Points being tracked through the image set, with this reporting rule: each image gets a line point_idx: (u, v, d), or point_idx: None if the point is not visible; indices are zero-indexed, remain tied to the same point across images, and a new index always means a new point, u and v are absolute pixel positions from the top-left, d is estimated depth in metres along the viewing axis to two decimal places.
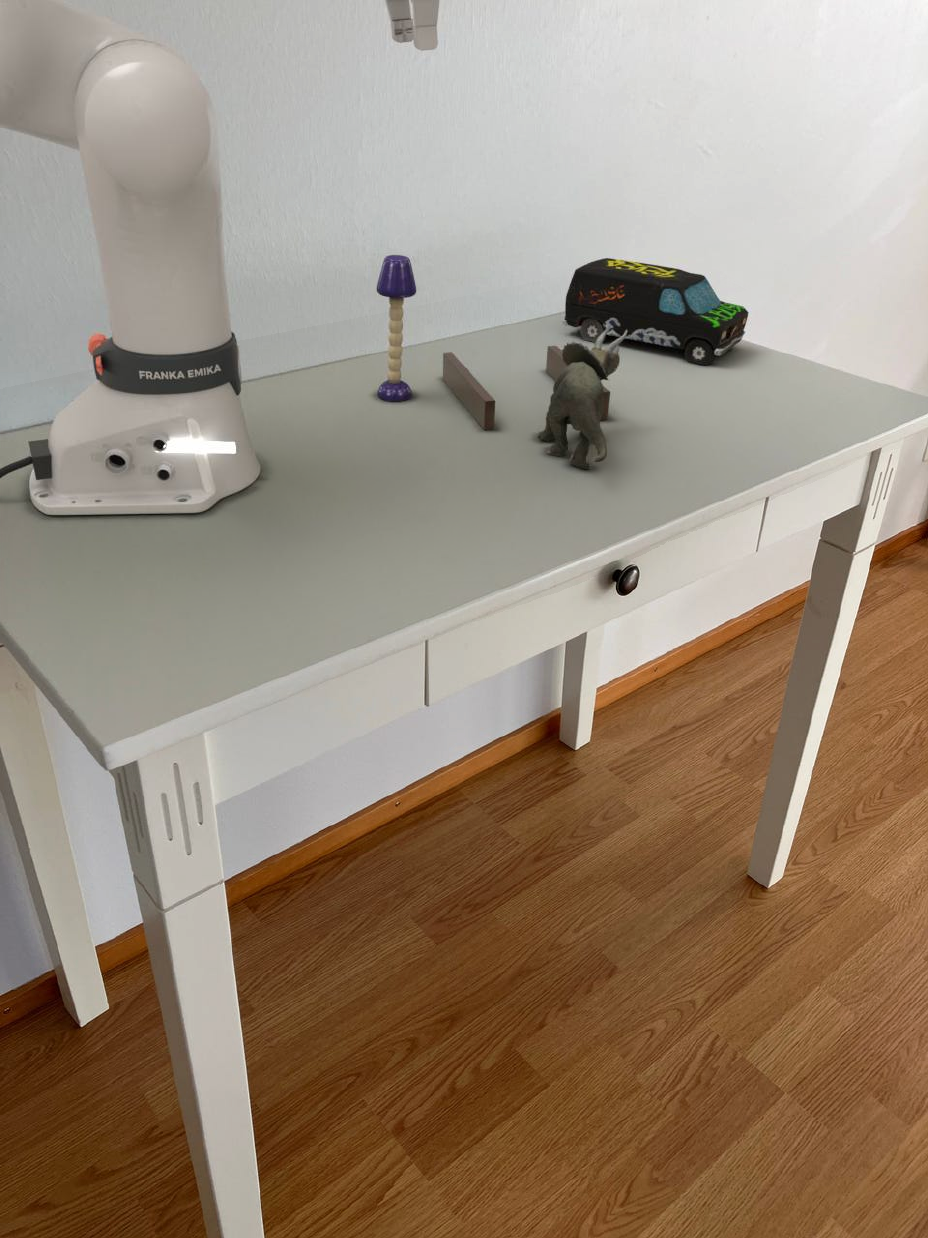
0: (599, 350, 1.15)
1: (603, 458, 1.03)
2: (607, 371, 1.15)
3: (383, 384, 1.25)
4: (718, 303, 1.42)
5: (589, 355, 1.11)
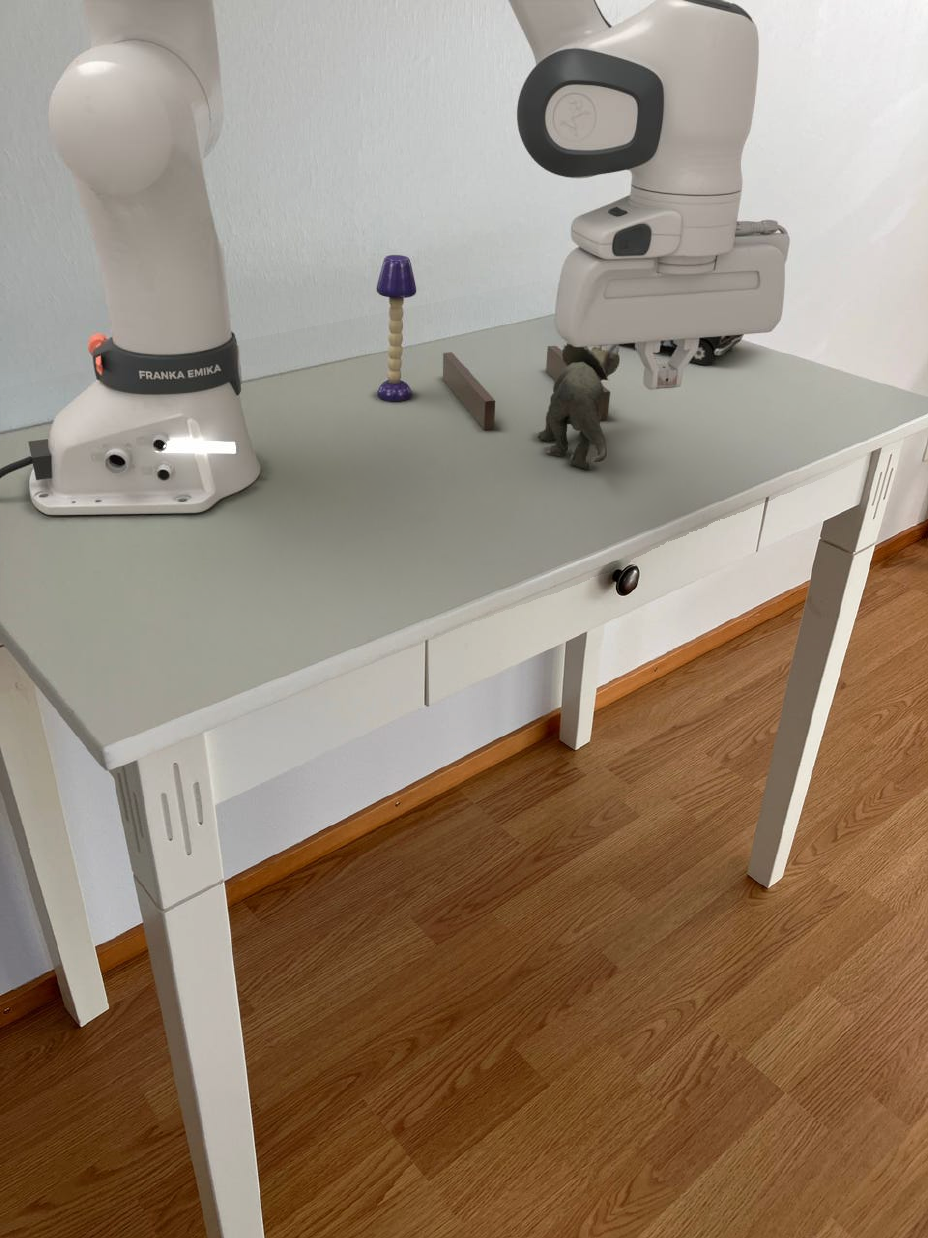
0: (599, 350, 1.15)
1: (603, 458, 1.03)
2: (607, 371, 1.15)
3: (383, 384, 1.25)
4: None
5: (589, 355, 1.11)
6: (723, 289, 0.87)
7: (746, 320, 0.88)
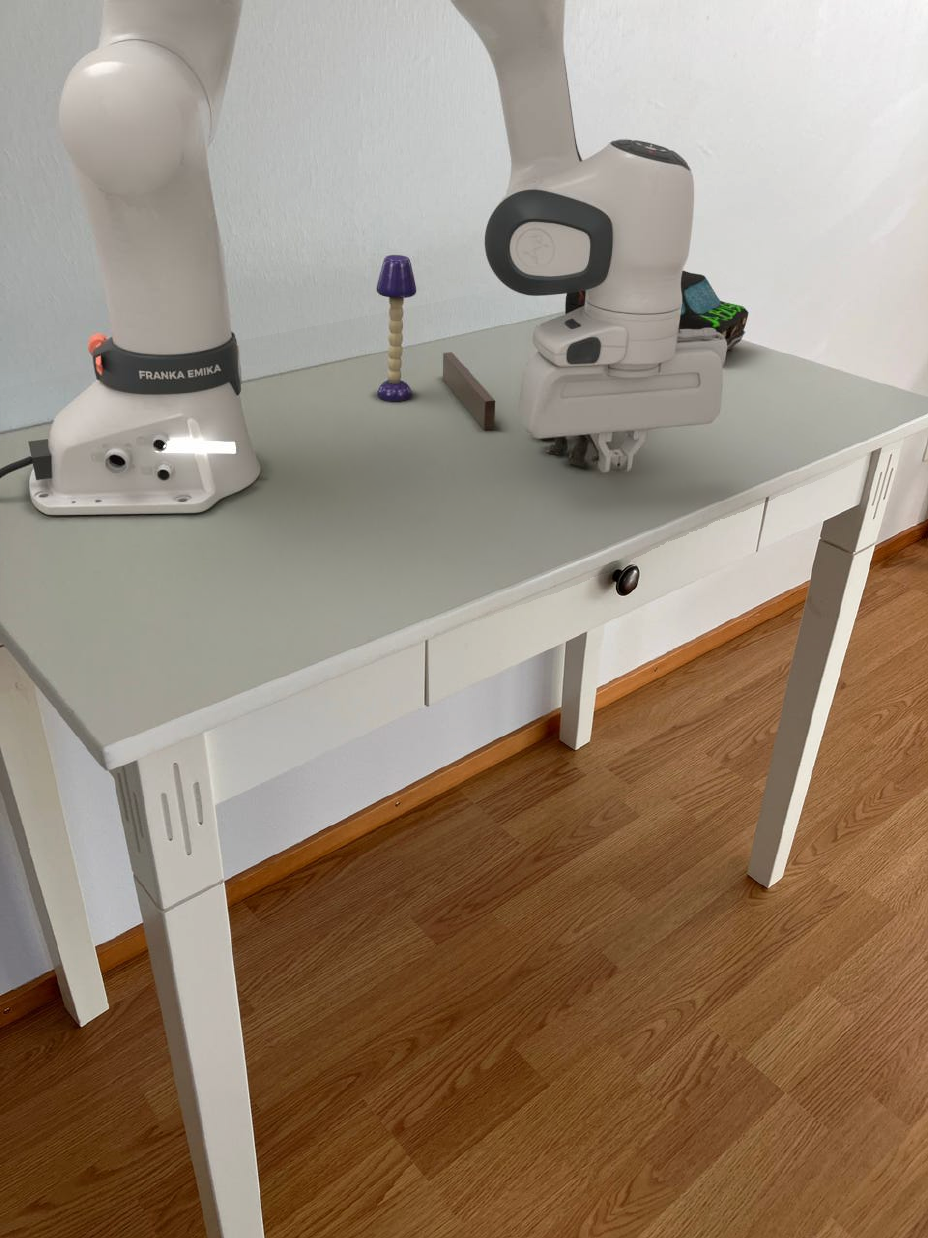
0: None
1: None
2: None
3: (383, 384, 1.25)
4: (718, 303, 1.42)
5: None
6: (668, 388, 0.98)
7: (688, 414, 1.00)
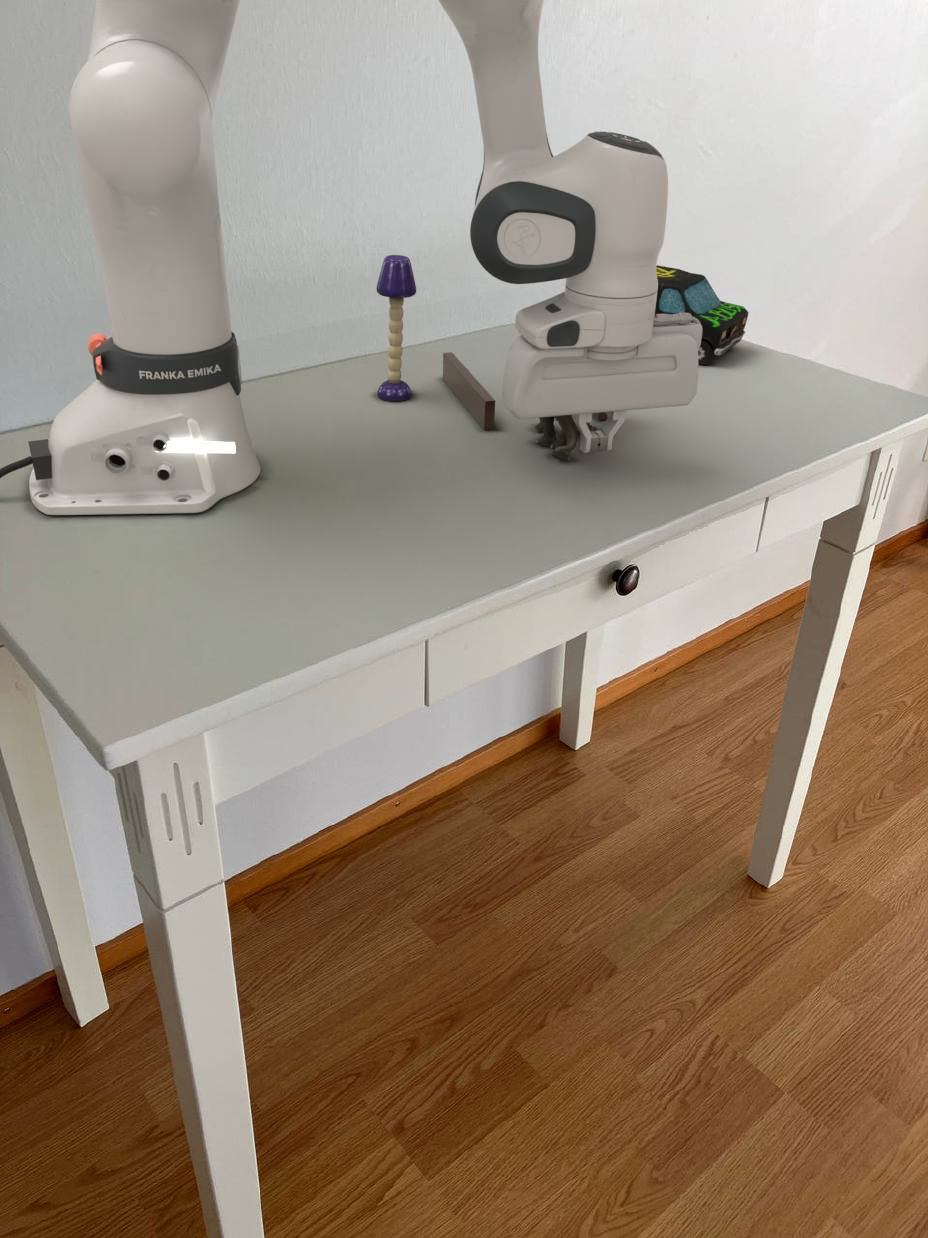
0: None
1: (568, 449, 1.05)
2: None
3: (383, 384, 1.25)
4: (718, 303, 1.42)
5: None
6: (645, 370, 1.02)
7: (665, 395, 1.04)
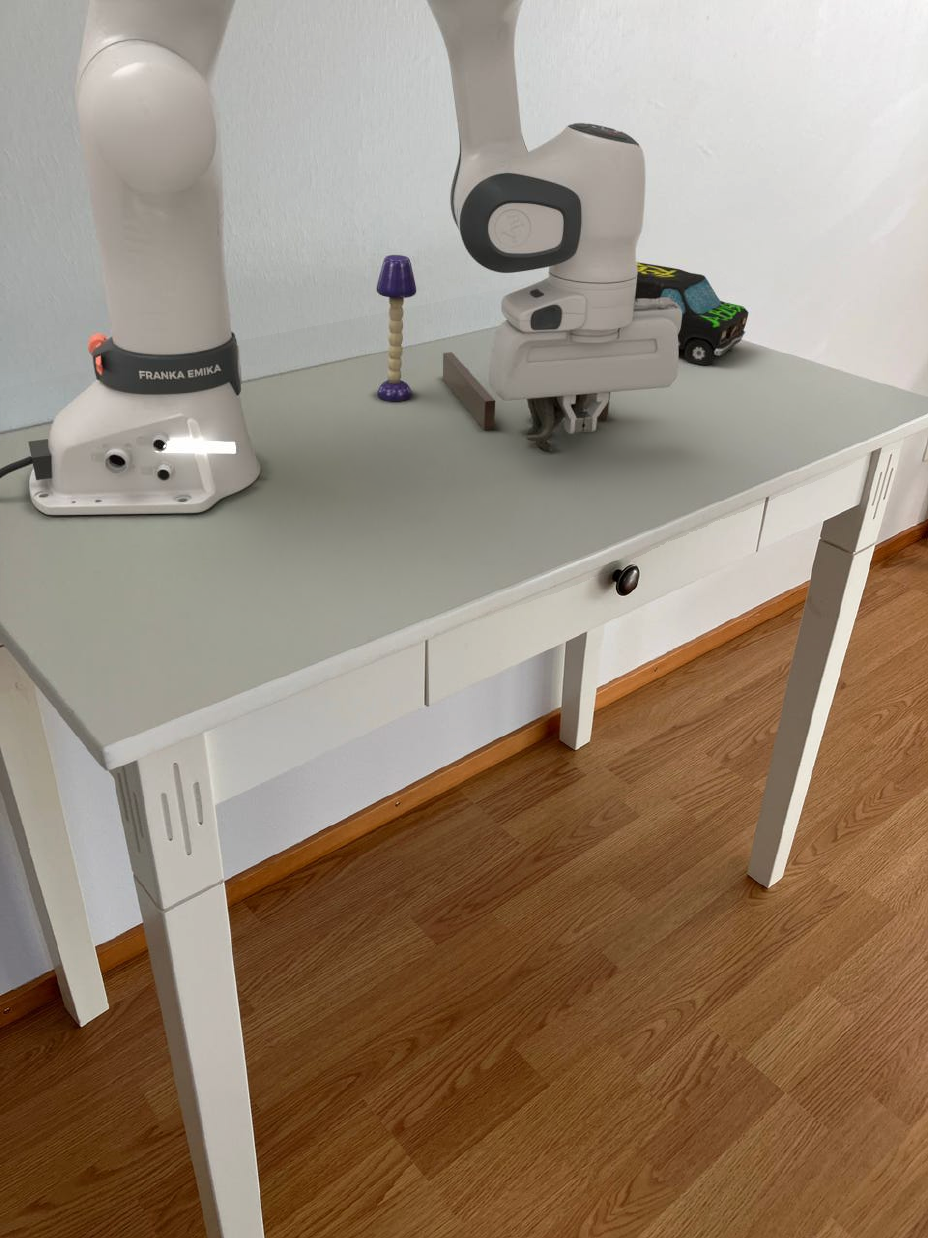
0: None
1: (540, 438, 1.07)
2: None
3: (383, 384, 1.25)
4: (718, 303, 1.42)
5: None
6: (627, 353, 1.06)
7: (646, 377, 1.08)
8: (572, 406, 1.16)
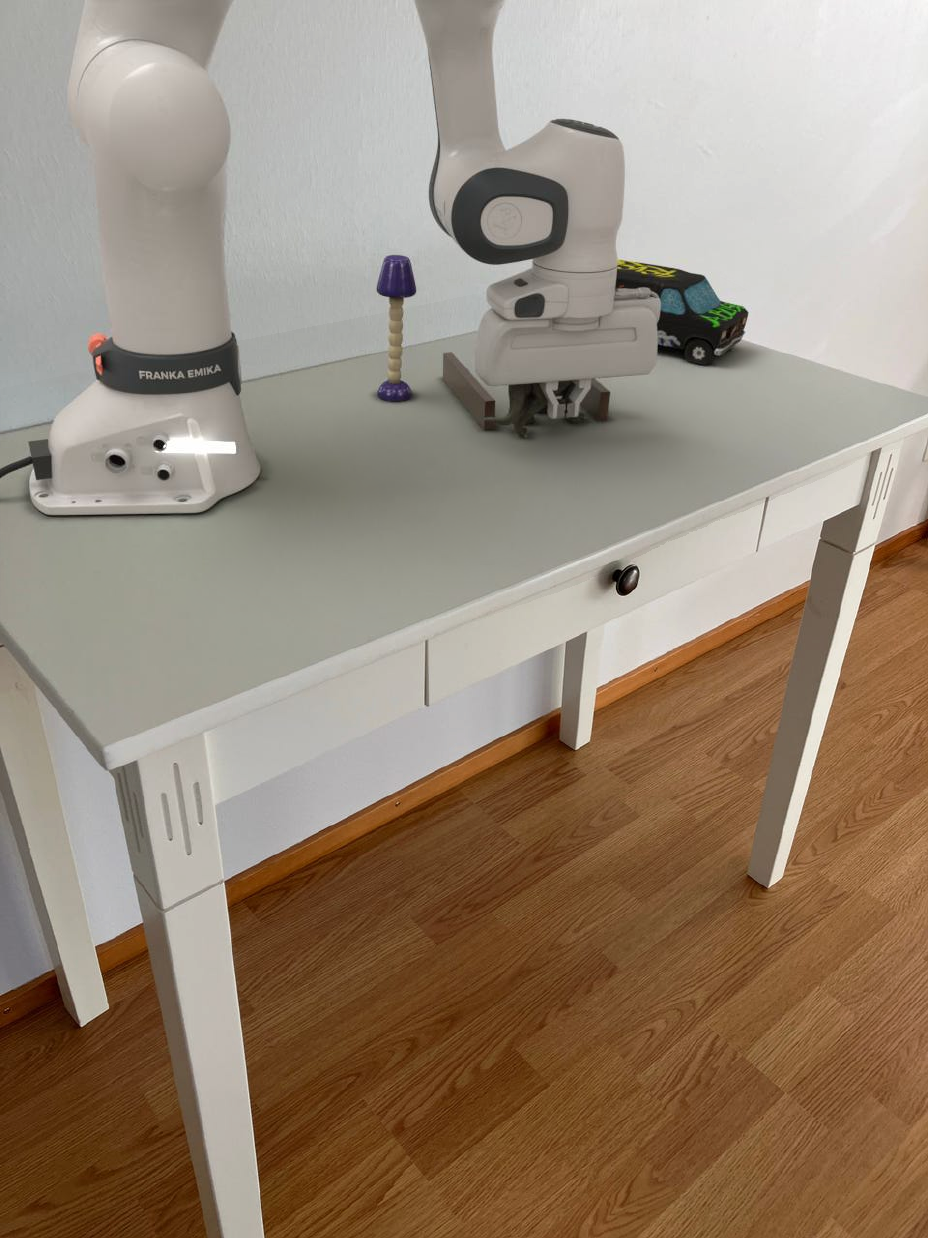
0: None
1: (500, 421, 1.11)
2: None
3: (383, 384, 1.25)
4: (718, 303, 1.42)
5: None
6: (607, 341, 1.10)
7: (627, 365, 1.12)
8: (562, 398, 1.19)
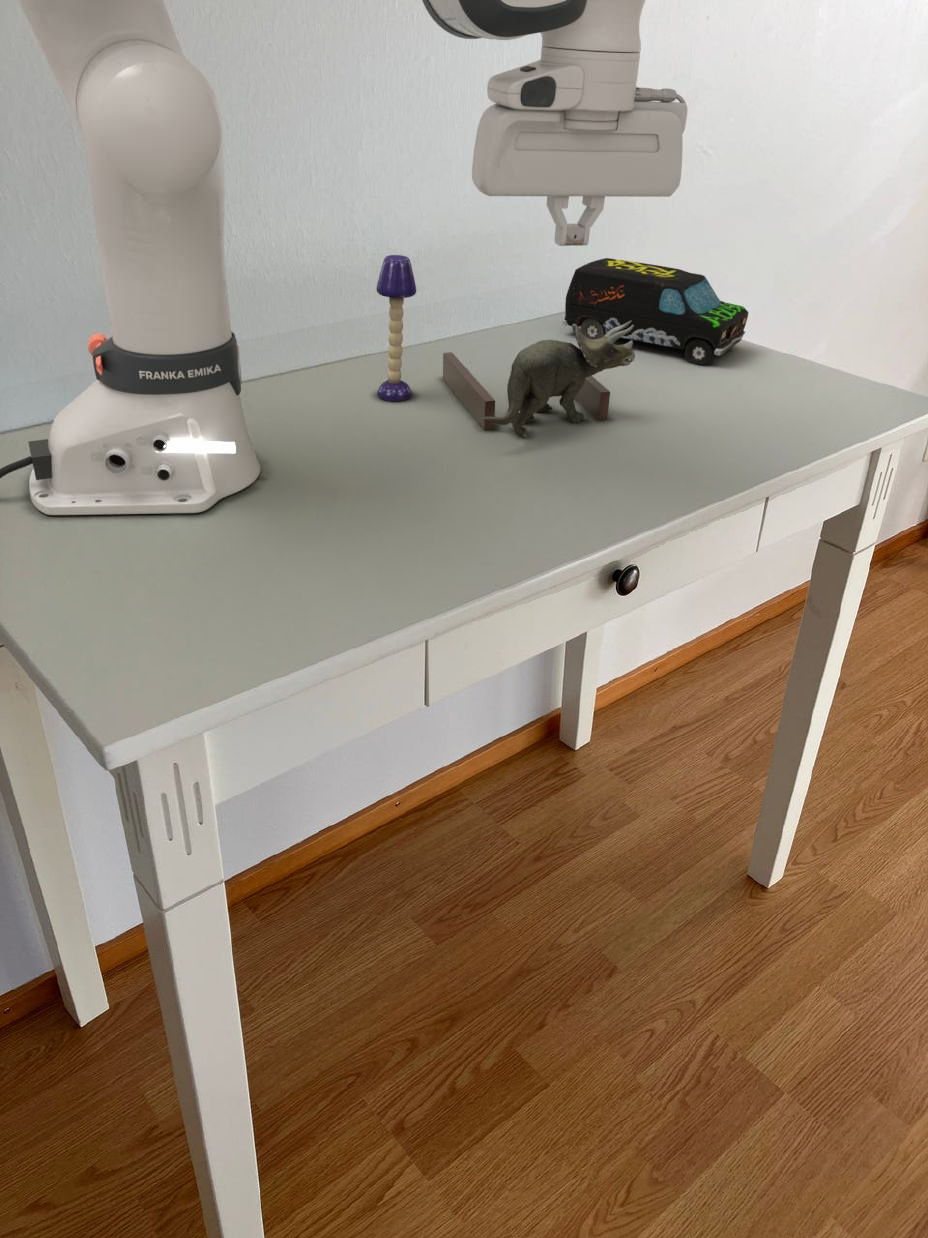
0: (605, 339, 1.18)
1: (498, 421, 1.11)
2: (603, 359, 1.18)
3: (383, 384, 1.25)
4: (718, 303, 1.42)
5: (576, 338, 1.17)
6: (626, 150, 0.95)
7: (647, 181, 0.97)
8: (561, 397, 1.19)
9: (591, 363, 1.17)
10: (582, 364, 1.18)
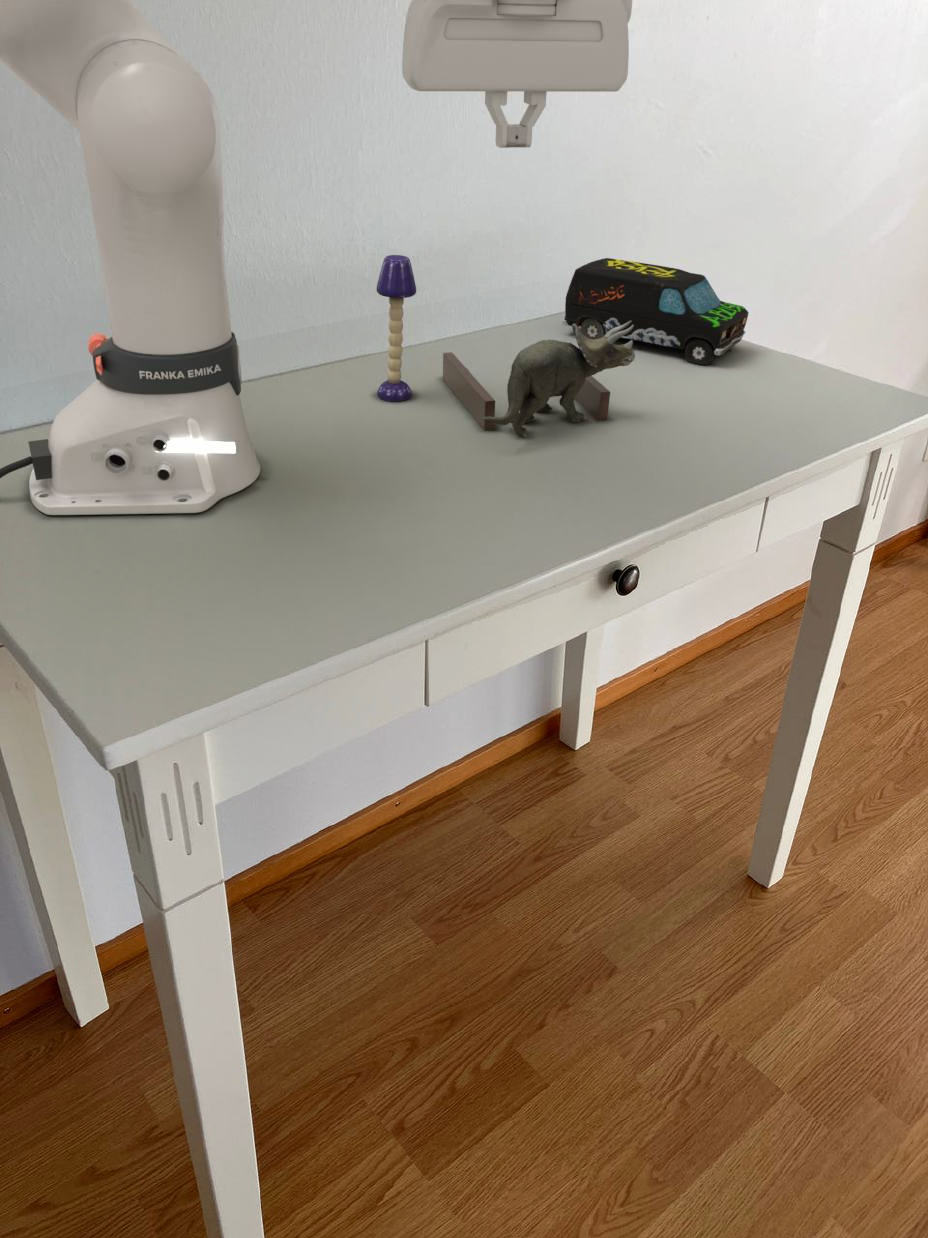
0: (605, 339, 1.18)
1: (498, 421, 1.11)
2: (603, 359, 1.18)
3: (383, 384, 1.25)
4: (718, 303, 1.42)
5: (576, 338, 1.17)
6: (566, 39, 0.89)
7: (591, 74, 0.91)
8: (561, 397, 1.19)
9: (591, 363, 1.17)
10: (582, 364, 1.18)
